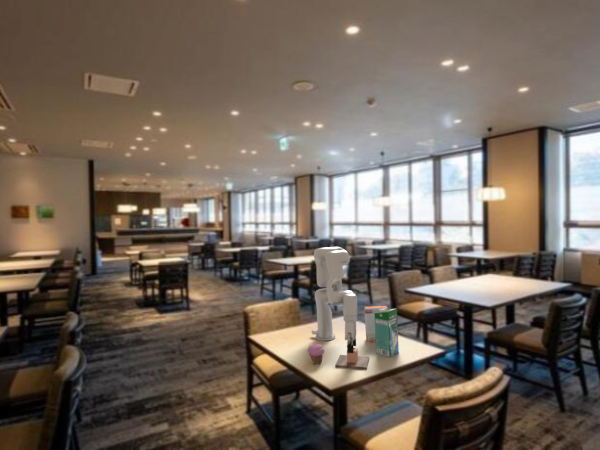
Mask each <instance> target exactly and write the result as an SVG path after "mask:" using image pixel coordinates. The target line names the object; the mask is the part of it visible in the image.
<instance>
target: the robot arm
mask: <svg viewBox="0 0 600 450" xmlns="http://www.w3.org/2000/svg"><path fill="white" fill-rule="evenodd" d="M313 258H314V259H313V260H314V263H315V267H316V284H317V286H318V287H320V288H319V289H317V290H316V291H315V292H314V300H315V305H316V320H317V321H316V323H317V329H316V330H314V329H313V330H311V335H315V339H316V340H318V341H323V342H325V341H327V342H328V341H333V340H334V339H335V338H336V334H334V333H333V313H332V308H331V307H330V306H329V305H328V304H331V306H342V311H343V321H344V340H345V341H347V342H346V354H347V353H354V349H353V348H354V347H356V346H357V338H356V337H357V322H358V320H359V314H358V296H357V294H356V293H354V292H353V291H352V290H351V289H350V290H348V289H347V290H343V289H342V288H343V284H342V281H343V280H342V279H343V278H344V277H345V275H346V274H345V270H344V265H348V264H349V263H350V254H349V252H348V251H347V250H345V249H344V248H343V247H340V246H329V247H328V246H326V247H318V248H316V249H315V250H314V251H313Z"/></svg>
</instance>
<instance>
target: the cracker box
mask: <svg viewBox="0 0 600 450" xmlns="http://www.w3.org/2000/svg"><path fill="white" fill-rule="evenodd" d="M363 308H364V324H365V326H364V327H365V340H366V343H376V337H375V315H374V313H377V312H379V310H380V309H384V308H386V310H388V309H389V307H388V306H387V305H375V306H374V305H372V306H364V307H363Z"/></svg>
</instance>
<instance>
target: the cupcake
mask: <svg viewBox="0 0 600 450" xmlns="http://www.w3.org/2000/svg"><path fill="white" fill-rule="evenodd" d="M307 353H308V355H309V356H310V360H311V362H312V364H314V365H319V364H322V362H323V356H324V354H325V349H324V347H323V346H322V345H321V344H320V343H313V344H311V345H309V347H308V348H307Z"/></svg>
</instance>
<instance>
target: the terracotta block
mask: <svg viewBox="0 0 600 450" xmlns="http://www.w3.org/2000/svg"><path fill="white" fill-rule="evenodd" d="M353 349H354V353H347V352H346V355H347V362H351V363H357V361H358V356H359V349H358V347H353Z"/></svg>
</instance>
